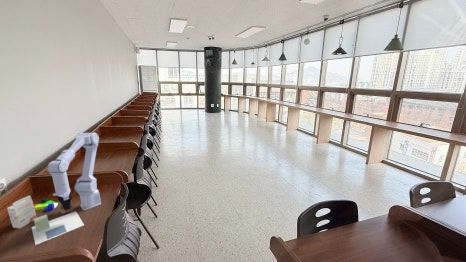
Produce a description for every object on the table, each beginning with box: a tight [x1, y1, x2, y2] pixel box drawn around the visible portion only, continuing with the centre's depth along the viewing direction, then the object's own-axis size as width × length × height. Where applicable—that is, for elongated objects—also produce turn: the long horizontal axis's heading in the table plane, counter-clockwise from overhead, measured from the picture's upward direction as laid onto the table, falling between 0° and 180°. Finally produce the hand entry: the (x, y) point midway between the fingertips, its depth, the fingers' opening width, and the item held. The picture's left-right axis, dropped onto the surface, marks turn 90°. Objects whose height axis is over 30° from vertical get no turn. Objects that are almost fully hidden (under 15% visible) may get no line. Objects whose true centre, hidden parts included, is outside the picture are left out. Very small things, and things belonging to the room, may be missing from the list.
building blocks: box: [33, 197, 59, 213], centre depth 130 cm, size 15×13×4 cm
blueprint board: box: [31, 211, 85, 246], centre depth 112 cm, size 19×18×1 cm
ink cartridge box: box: [6, 195, 38, 229], centre depth 114 cm, size 9×5×15 cm, turn 168°
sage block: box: [33, 214, 50, 232], centre depth 111 cm, size 5×5×5 cm
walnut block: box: [57, 200, 74, 214], centre depth 113 cm, size 5×5×5 cm
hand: (66, 207), depth 114 cm, fingers closed on walnut block, 5 cm apart
